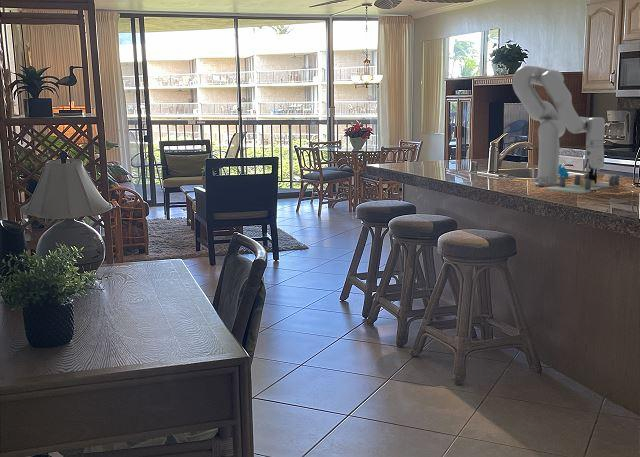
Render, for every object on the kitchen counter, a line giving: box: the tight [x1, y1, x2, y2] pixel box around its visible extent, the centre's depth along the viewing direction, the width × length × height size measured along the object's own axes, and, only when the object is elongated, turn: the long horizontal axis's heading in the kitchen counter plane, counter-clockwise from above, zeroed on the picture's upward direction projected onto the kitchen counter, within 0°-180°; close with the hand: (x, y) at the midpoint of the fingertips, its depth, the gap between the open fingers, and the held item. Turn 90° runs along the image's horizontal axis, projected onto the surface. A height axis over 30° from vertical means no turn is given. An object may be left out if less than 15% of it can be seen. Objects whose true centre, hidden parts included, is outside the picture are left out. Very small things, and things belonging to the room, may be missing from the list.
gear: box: [558, 163, 570, 179], centre depth 363 cm, size 11×6×10 cm
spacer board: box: [545, 172, 621, 194], centre depth 319 cm, size 34×18×6 cm, turn 127°
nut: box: [580, 178, 595, 187], centre depth 319 cm, size 6×7×3 cm
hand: (592, 183), depth 322 cm, fingers closed
